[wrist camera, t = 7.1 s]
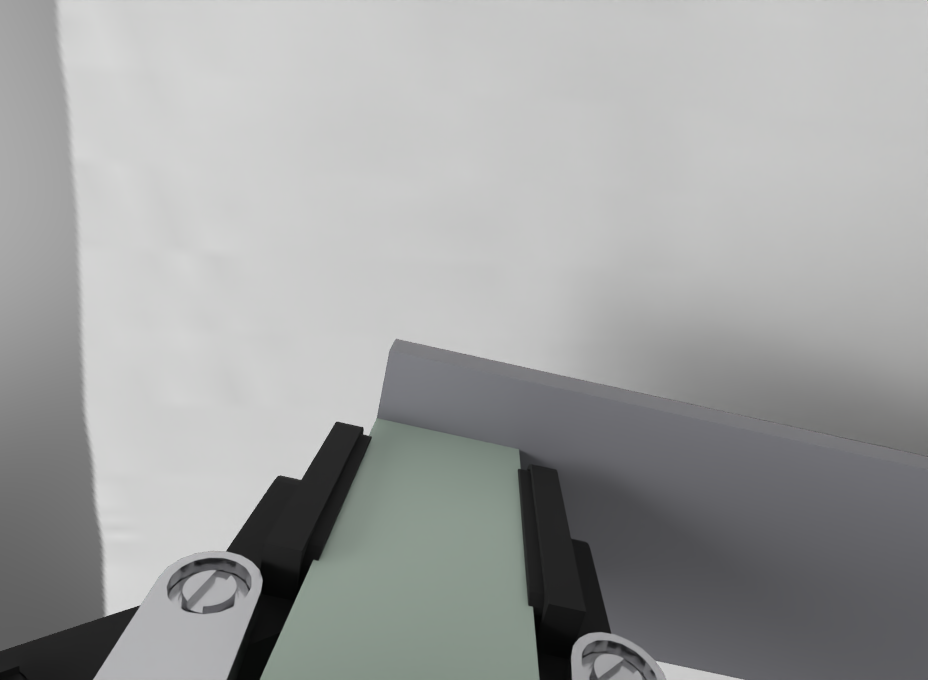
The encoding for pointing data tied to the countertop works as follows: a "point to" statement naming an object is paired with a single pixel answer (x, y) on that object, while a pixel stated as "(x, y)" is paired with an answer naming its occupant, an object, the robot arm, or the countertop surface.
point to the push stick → (611, 535)
